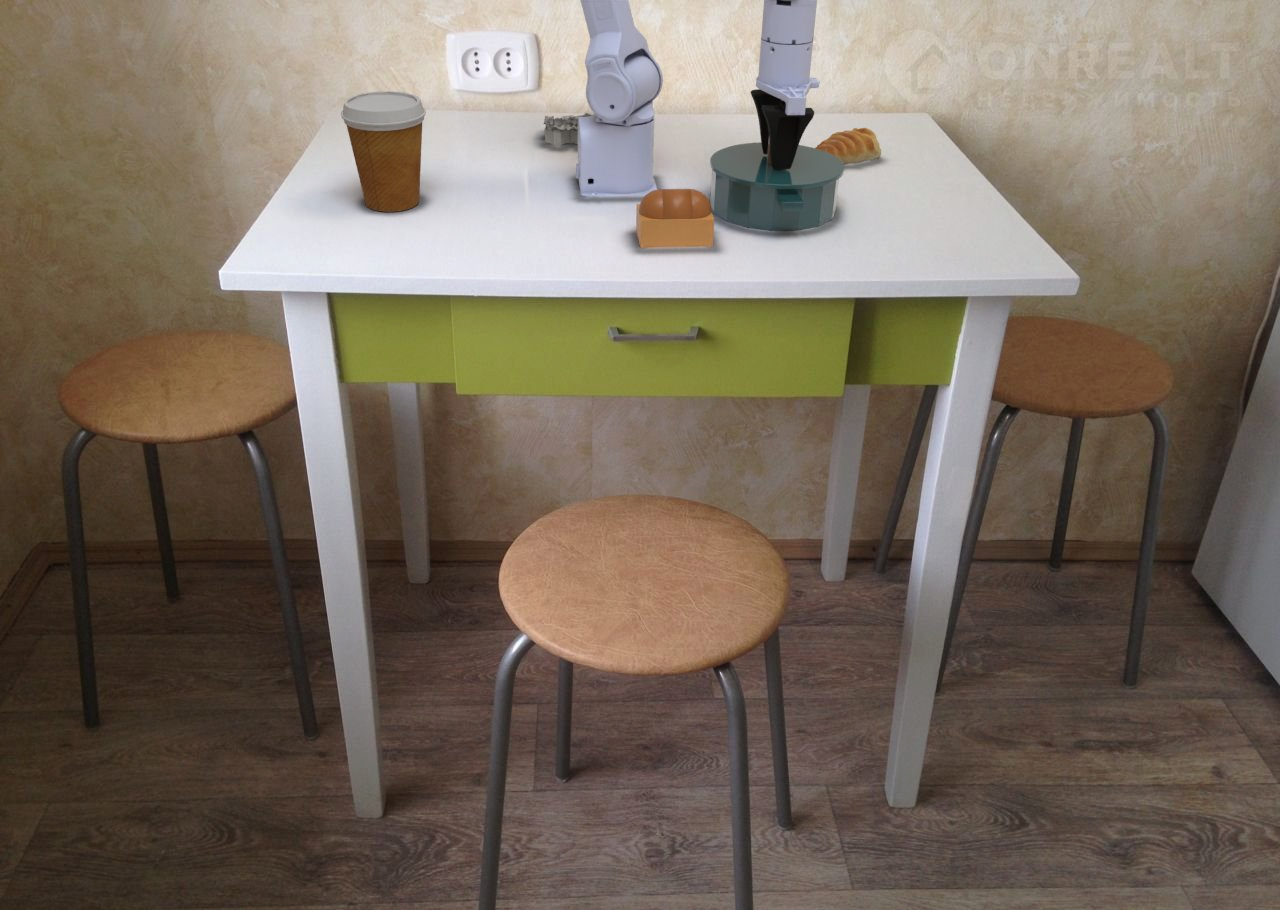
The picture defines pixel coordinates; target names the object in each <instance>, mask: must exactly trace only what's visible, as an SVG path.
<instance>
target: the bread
mask: <svg viewBox="0 0 1280 910" xmlns="http://www.w3.org/2000/svg"><path fill="white" fill-rule="evenodd" d="M635 211H636V213H635V214H636V217H635V232H636V236H637V239H638V243H639V244H638V245H639V247H640V249H645V248H646V249H647V248H651V249H653V248H654V249H655V248H699V247H700V248H701V247H703V248H704V247H714V236H715V235H714V234H715V217H714V215H713V213H712V212H713V211H712V208H711V205H710V199H709V198H708V197H707V196H706V194H704V193H703V192H702V191H700V190H699V189H698V190H697V189H695V188H659V189H658V188H657V190H654V191H651V192H649V193H648V194H647V195H644V196H643V198H642V199H641V201H640V203H637V204H636V209H635Z"/></svg>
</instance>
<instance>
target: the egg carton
mask: <svg viewBox="0 0 1280 910" xmlns="http://www.w3.org/2000/svg"><path fill="white" fill-rule="evenodd" d="M593 115H595V114H594V113H590V112H585V113H584V114H581V115H572V114H571V115H563V116H561V117H555V116H554V115H552V116H549V115H545V116H544V119H543V125H545V127H544V143H545V144H551V145H553V146H557V147H558V146H559V147H560V146H562V145H564V144H574V145H578V118H580V117H588V116H593Z"/></svg>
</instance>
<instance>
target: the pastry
mask: <svg viewBox="0 0 1280 910" xmlns="http://www.w3.org/2000/svg"><path fill="white" fill-rule="evenodd" d="M814 148H815V149H819V150H822V151H825V152H828V153H830V154H832V155H834V156H836V157H837V158H839V159H840V160H841V161H842V162H843V164H844V165H853V164H859V163H861V162H868V161H873V160H877V159H878V158H879V157H881V156H882V155H881V154H882V149H881V147H880V142H879V141H878V138H877V134H876V133H875V132H874V131H873V130H871V129H870V128H868V127H861V128H860V127H859V128H858V127H853V129H852V130H843V131H837V132H834V133H832V134H831V135H830V136H829V137H828V138H826V139H824V140H822V141H821V142H820V143H819V144H817V146H816V147H814Z"/></svg>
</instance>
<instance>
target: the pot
mask: <svg viewBox="0 0 1280 910" xmlns="http://www.w3.org/2000/svg"><path fill="white" fill-rule="evenodd" d="M710 181H711V182H710V199H709V202H710V205H711V211H712V212H713V213H714V214H715V215H716V216H717V217H719V218H720V219H721V220H723V221H725V222H728V223H730V224H732V225H735V226H741V227H743V228H748V229H753V230H758V231H759V230H761V231H772V232H792V231H795V232H796V231H803V230H809V229H814V228H818V227H821V226H823V225H825V224H827V223H828V222H830V221H832V220H833V218H834V216H835V213H836V210H837V201H838V193H839V186H840V185H839V184H840V178H839V179H838V180H836V181H835V182H832V183H830V184H826V185H823V186H818V187H812V188H803V189H772V188H762V187H755V186H750V185H745V184H741V183H737V182H734V181H731V180H728V179H726V178H723V177H721V176H720V175H718V174H717V173H715V172H714V171H713V170H712V169H711V180H710Z"/></svg>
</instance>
